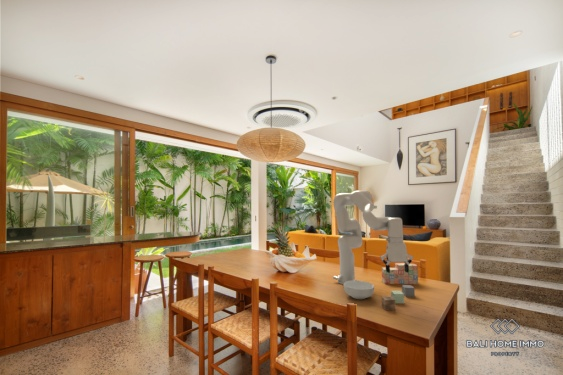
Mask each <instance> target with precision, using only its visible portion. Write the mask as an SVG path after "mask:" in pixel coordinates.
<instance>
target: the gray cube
mask: <svg viewBox="0 0 563 375" xmlns="http://www.w3.org/2000/svg"><path fill="white" fill-rule="evenodd" d="M401 292H402V293H403V294H404V297H407V298H408V297H409V298H410V297H411V298H415V297H416V295H415V294H416V291H415V287H414V286H413V285H412V284H401Z"/></svg>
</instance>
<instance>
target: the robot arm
mask: <svg viewBox="0 0 563 375" xmlns="http://www.w3.org/2000/svg"><path fill="white" fill-rule="evenodd" d="M372 199H373V197H372V194H371V193H370V192H369V191H368V190H354V191H352V192H342V193H338V194H336V195H335V196H334V198H333V201H332V202H333V204H332V205H333V208H334V212H335V218H336V223H337V224H336V225H337V230H338V232H340V233H341V234H343V235H340V236H339V237H338V239H337V245H338V250H339V274H338V275H337V276H336V275H333V276H332V279H333V280H337V283H338V284H340V285H344V282H346V281H352V280H356V276H355V275H356V274H355V255H354V251H352V249H358V248H361V247H362V245H363V237H362V235H363V234H362V228H361V224H360V221H358V219H357V218H350V213H349V211H348V209H347V208H346V206H356V208H358V210H360V212H361V213H362V218H363V221H364V223H365V224H366V225H367V226H368V227H369V228H370V229H371V230H374V231H377V232H378V231H387V238H385V242H387V243H386V248H385V249H386V250H385V251H386V253H384V254H382V255H381V256H380V257H379V258H380V259H381V262H382V263H384V264H385V268H386V271H387V272H388V273H390V268H391V265H390V264H391V263H405V264H404V269H405V272H407V273H408V271H409V264H410V263H411V264H412V262H413V259H414V256H413V255H411V254H408V249H407V245H406V243H405V242H404V232H403V230H404V229H403V219H402V218H401V217H390V216H375V215H374V213H372V212H373V210H374V209H375V204H374V202H372ZM345 233H346V234H345ZM348 233H350V234H348ZM385 258H386V259H385Z"/></svg>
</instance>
